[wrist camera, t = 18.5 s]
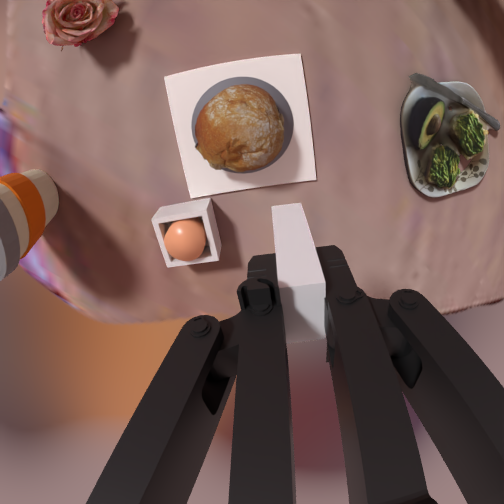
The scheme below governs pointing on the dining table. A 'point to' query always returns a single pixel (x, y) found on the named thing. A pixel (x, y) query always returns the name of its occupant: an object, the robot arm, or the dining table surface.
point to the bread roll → (240, 129)
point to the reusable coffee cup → (24, 214)
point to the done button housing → (184, 211)
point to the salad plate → (444, 135)
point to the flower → (77, 20)
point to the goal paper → (287, 100)
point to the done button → (186, 239)
